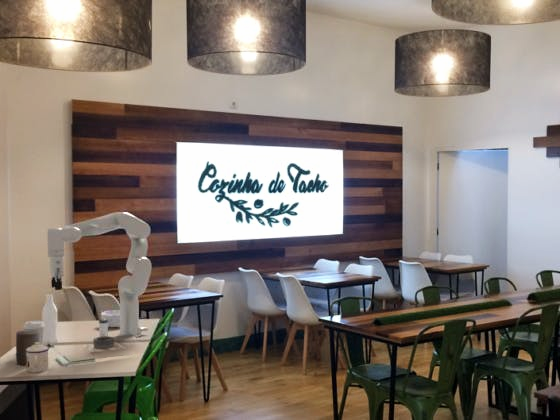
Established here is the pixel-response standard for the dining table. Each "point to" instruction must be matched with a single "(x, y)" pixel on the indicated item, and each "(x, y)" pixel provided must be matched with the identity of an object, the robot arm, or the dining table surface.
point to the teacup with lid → (37, 358)
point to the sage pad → (65, 361)
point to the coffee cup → (36, 328)
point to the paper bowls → (112, 317)
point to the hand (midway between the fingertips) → (56, 288)
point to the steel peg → (103, 329)
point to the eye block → (103, 345)
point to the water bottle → (49, 321)
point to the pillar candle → (25, 344)
